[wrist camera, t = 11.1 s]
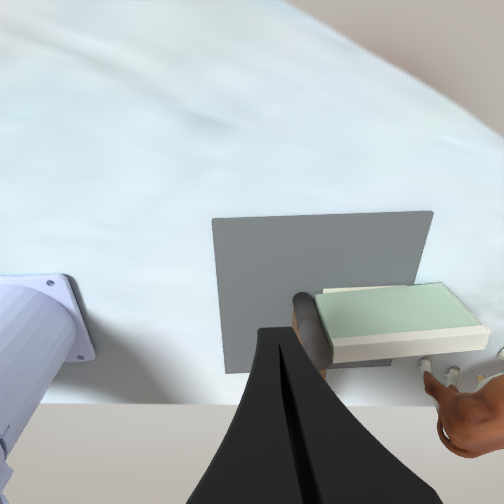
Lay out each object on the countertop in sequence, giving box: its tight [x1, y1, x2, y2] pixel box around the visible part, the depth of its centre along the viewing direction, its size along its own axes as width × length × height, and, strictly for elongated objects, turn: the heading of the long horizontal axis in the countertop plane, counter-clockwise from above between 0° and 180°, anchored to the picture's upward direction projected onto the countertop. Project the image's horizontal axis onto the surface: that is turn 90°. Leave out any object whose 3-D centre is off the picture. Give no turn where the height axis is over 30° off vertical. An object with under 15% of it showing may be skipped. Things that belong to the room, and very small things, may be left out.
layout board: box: [212, 211, 434, 374], centre depth 23 cm, size 14×14×1 cm
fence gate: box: [315, 283, 491, 363], centre depth 21 cm, size 9×1×5 cm, turn 95°
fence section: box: [292, 292, 332, 380], centre depth 22 cm, size 1×9×6 cm, turn 1°
